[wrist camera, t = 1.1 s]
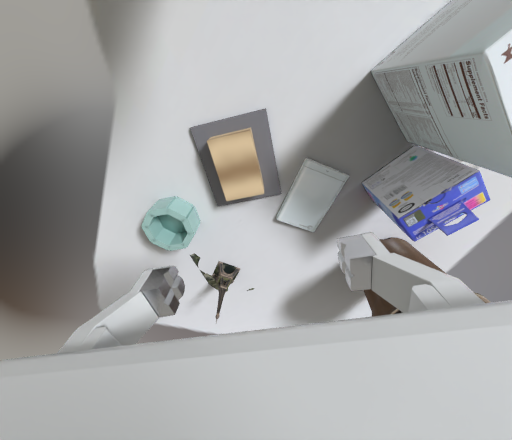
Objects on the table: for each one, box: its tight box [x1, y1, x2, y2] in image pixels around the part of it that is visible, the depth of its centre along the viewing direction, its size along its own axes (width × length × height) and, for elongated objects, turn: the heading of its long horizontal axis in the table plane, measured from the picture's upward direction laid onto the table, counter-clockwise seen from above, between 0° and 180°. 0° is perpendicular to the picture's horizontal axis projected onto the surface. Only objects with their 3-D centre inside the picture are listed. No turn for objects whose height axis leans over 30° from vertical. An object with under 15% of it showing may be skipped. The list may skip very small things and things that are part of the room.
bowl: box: [141, 196, 200, 251], centre depth 41 cm, size 9×9×4 cm
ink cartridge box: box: [362, 145, 490, 242], centre depth 31 cm, size 10×6×14 cm, turn 133°
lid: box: [207, 128, 264, 201], centre depth 35 cm, size 10×6×3 cm, turn 13°
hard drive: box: [276, 158, 349, 232], centre depth 40 cm, size 2×8×12 cm
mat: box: [190, 109, 281, 206], centre depth 37 cm, size 14×12×1 cm
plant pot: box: [364, 238, 490, 317], centre depth 40 cm, size 16×16×16 cm
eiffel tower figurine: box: [190, 254, 254, 322], centre depth 45 cm, size 15×10×13 cm
